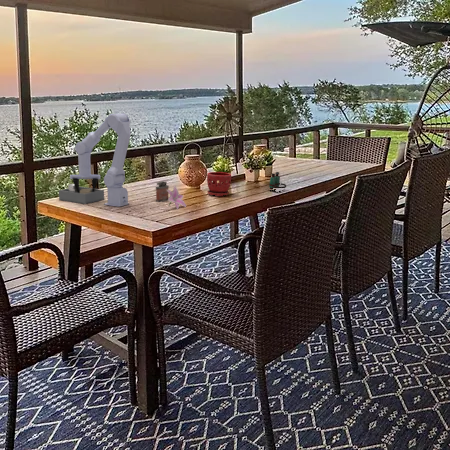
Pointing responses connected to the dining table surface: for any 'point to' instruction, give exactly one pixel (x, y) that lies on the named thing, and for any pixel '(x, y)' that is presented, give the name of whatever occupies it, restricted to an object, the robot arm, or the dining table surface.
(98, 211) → the dining table surface
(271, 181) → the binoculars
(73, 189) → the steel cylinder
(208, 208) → the dining table surface
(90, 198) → the tote
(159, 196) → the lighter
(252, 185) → the dining table surface
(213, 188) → the plant pot
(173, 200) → the lily
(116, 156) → the robot arm
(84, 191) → the maple cube
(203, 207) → the dining table surface
